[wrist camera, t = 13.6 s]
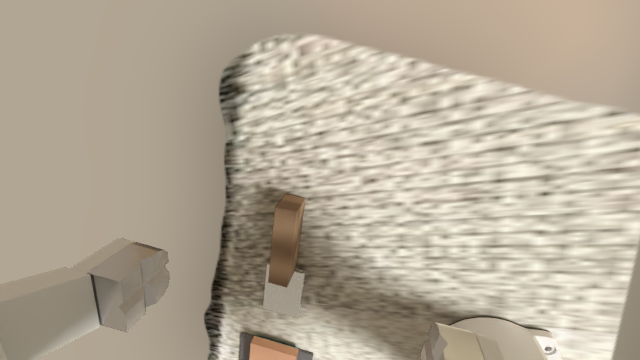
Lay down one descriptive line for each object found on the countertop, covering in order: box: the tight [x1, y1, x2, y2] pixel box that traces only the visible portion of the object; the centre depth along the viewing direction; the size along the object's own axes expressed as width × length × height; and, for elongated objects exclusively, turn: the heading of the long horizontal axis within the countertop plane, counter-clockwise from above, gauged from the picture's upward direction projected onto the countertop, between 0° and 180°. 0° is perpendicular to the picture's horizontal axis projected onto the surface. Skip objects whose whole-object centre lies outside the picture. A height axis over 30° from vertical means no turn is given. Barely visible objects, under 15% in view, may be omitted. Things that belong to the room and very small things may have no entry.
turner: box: [263, 194, 306, 318], centre depth 43 cm, size 21×6×4 cm, turn 172°
